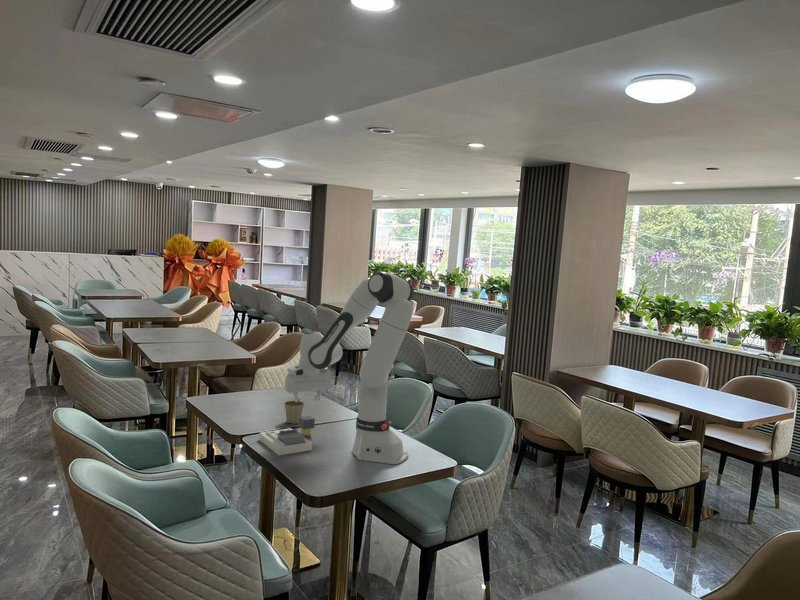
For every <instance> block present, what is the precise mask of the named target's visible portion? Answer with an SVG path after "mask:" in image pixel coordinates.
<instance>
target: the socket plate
mask: <svg viewBox="0 0 800 600" xmlns="http://www.w3.org/2000/svg"><path fill="white" fill-rule="evenodd" d="M286 430H294V429H292V428H291V427H287V428H284V429H277V430H275V429H274V430H269V431H268V430H266V431H261V432H259V433H258V434H259V435H258V437H259V439H258V440H259V441H260V442H262V443H263V444H264V445H265V446H266V447H267V448H268V449H270V450H271V451H273V452H274V454H276V455H277V456H282V455H283V456H284V455H291V454H297V453H304V452H308V451H310V452H311V451H313V442H312V441H310V440H309V439H307V437H305V436H304V442H300V443H293V444H286V445H285V444H284V443H283V442H282V441H280V440H279V439H278V433H280V431H286Z"/></svg>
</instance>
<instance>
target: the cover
mask: <svg viewBox="0 0 800 600" xmlns="http://www.w3.org/2000/svg"><path fill="white" fill-rule="evenodd" d="M304 437H305V436H304V435H302V434H301V432H299V431H298V430H297V429H296V428H295V429H293V430H286V431H280V433H278V439H279V440H280V441H282V442H283V443H284V444H285V445H286V444H293V443H300V442H304Z"/></svg>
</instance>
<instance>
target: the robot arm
mask: <svg viewBox="0 0 800 600" xmlns="http://www.w3.org/2000/svg"><path fill="white" fill-rule="evenodd" d="M414 294H415V288H414V286H413V284H412V283H411V282H410V281H408V280H407V279H404V278H402V277H400V276H398V275H396V274H393V273H389V272H386V271H376V272H374V273H373V274H372V275H371V276H370V277H366V278H364V279H363V280H362V281H361V282H360V283H359V285H357V287H356V288H355V289H354V291H352V293H351V295H350V297H349V298H348V300H347V301H346V303H345V304H344V307H342V310H341V312H340V313H339V315H338V316H337V318H336V319H335V321H334V322H333V323H332V325H331V326H330V327H329V329H328V330H327V332H326V333H325V335H323V334H322V333H321V331H317V330H316V331H315V330H313V331H308V332H305V333H303V334H302V336H301V338H300V344H299V355H300V357H299V360H298V363H297V364H295V365H293V366H290V367H288V368H287V375H286V377H285V379H284V391H286V392H287V393H292V395H293V397H294V401H295V402H300V401H301V398H300V397H298V395H299V393H301V392H314V391H317V394H316V395H314V400H315V401H320V400H321V396H322V394H323V393H324V390H330V388H331V387H332V386H331V384H332V381H331V374H332V371H331V370H330V368H328V367H329V366H331V365H333V364H335V363H337V362H339V361H340V360H341V359H342V357H343V354H344V351H343V347H342V346H341V344H340V342H341V340H342V339H343V338H344V337H345V335H346V334H347V333H348V332H349V331H351V330H352V329H354V328H355V327H356V326H359V325H361V324H363V323H364V322H365V321H366V320H367V319H368V318H370V316H371V315H372V313H373V312H374V310H375V309H376V308H377V306H378V304H379V303H380V304H384V312H383V314H382V316H381V318H380V320H379V324H378V326H377V328H376V331H375V332H374V334H373V337H372V339H371V342H370V344H369V346H368V347H369V348H368V349H367V351H366V354H365V357H364V359H363V360H362V362H361V365H360V369H359V378H360V382H359V383H360V384H359V392H358V393H359V394H358V409H357V416H356V422H355V430H356V431H355V433H356V434H355V439H354V444H353V447H352V449H351V454H352V455H353V456H355V457H356V459H357V460H359V461H365V462H372V463H373V462H374V463H381V464H386V465H387V464H388V465H389V464H390V465H398V464H401V463H403V462H405V461H406V460H407V459H408V458H409V452H408V451H406V450H404V446H403V445H404V444H403V441H402V439H401V438H400V437H399V436H398V435H397V434H396V433H395V432H394V431H393V430H392V429H391V428H390V425H391V424H392V420H389V421H388V419H387V417H386V416H387V405H388V402H387V401H388V384H389V375H390V373H391V370H392V368H393V365H394V364H395V360H396V358H397V355H398V352H399V351H400V347H401V345H402V344H403V343H402V342H403V341H404V338H405V336H406V334H407V331H408V329H409V326H410V323H411V320H412V316H413V314H414V313H413V312H414V305H413V304H412V303H411V301H412V300H413V298H414Z"/></svg>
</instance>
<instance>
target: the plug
mask: <svg viewBox="0 0 800 600" xmlns="http://www.w3.org/2000/svg"><path fill="white" fill-rule="evenodd" d="M315 420H316V418H314V417H313V416H311V415H304V416H302V415H301V417H299V423H298V427H300V428H301V432H300V433H301V434H303V435H304V437H305V435H306V436H311V435H312V429H315Z"/></svg>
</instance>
